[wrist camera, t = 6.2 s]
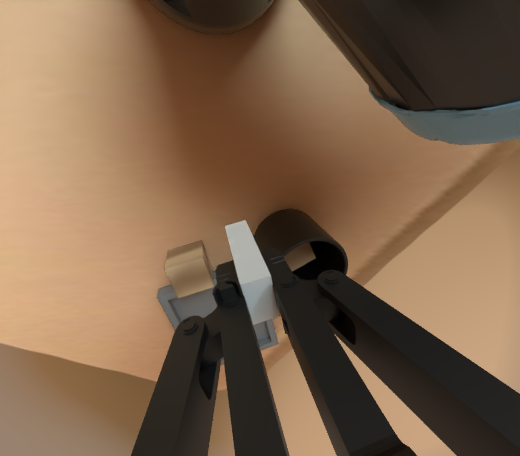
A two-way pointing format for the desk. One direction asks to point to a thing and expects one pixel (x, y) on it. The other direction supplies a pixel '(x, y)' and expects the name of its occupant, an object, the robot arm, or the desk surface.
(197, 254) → the oak block
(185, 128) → the desk surface
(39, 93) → the desk surface
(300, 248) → the walnut block
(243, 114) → the desk surface
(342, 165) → the desk surface
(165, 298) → the tray
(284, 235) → the mug
